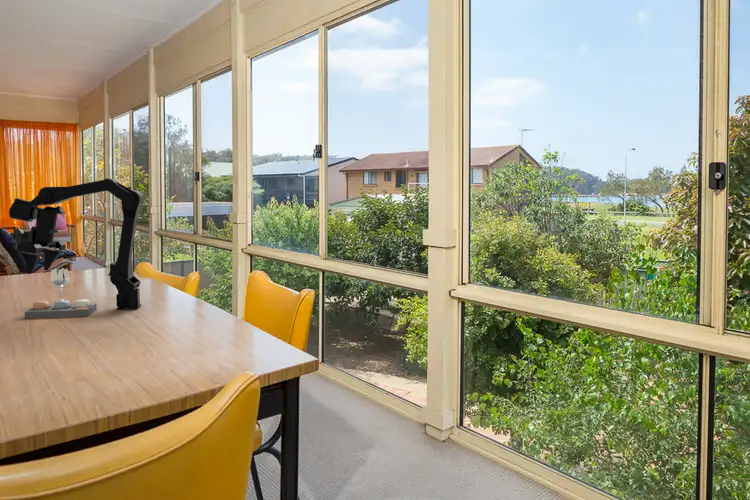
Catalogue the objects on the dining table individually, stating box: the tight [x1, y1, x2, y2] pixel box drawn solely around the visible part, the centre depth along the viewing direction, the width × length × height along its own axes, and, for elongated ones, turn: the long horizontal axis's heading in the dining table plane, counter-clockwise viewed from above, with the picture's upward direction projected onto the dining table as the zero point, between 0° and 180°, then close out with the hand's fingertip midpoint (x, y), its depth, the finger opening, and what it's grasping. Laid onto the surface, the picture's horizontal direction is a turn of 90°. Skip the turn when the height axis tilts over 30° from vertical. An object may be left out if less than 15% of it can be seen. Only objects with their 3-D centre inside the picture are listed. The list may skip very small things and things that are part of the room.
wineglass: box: [50, 267, 70, 300], centre depth 198 cm, size 6×6×12 cm
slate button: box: [53, 299, 70, 309], centre depth 181 cm, size 4×4×3 cm
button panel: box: [24, 303, 97, 319], centre depth 181 cm, size 18×10×2 cm, turn 102°
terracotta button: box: [32, 300, 50, 310], centre depth 180 cm, size 4×4×3 cm
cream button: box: [73, 299, 91, 309], centre depth 182 cm, size 4×4×3 cm
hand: (37, 271), depth 185 cm, fingers open, 9 cm apart
